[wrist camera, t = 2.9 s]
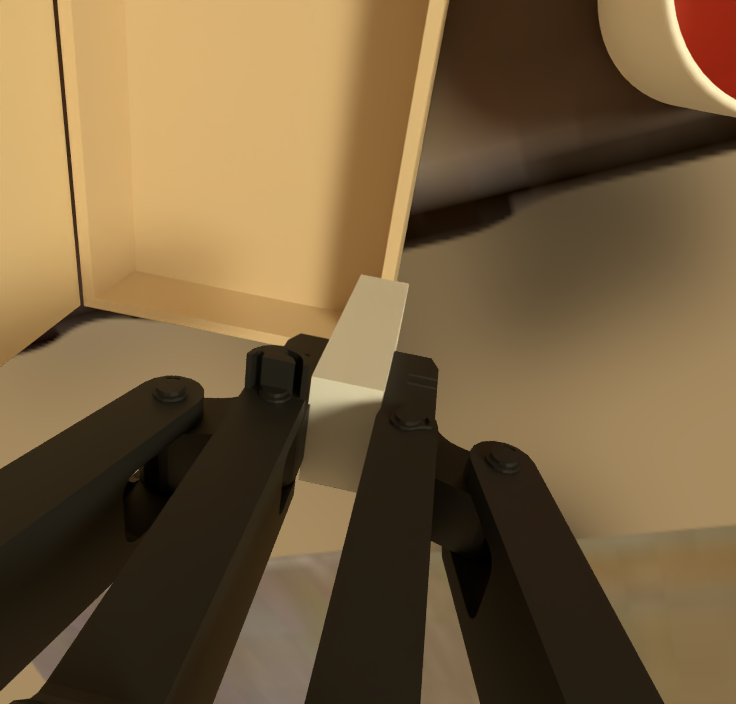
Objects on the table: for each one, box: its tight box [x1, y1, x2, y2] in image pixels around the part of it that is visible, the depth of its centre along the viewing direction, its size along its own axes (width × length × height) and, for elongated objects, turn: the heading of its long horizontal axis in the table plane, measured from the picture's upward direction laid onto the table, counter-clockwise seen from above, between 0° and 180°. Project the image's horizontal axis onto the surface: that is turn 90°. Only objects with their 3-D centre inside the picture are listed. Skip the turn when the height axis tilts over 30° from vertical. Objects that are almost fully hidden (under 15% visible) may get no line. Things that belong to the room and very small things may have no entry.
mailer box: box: [57, 0, 450, 346], centre depth 27 cm, size 22×16×5 cm
